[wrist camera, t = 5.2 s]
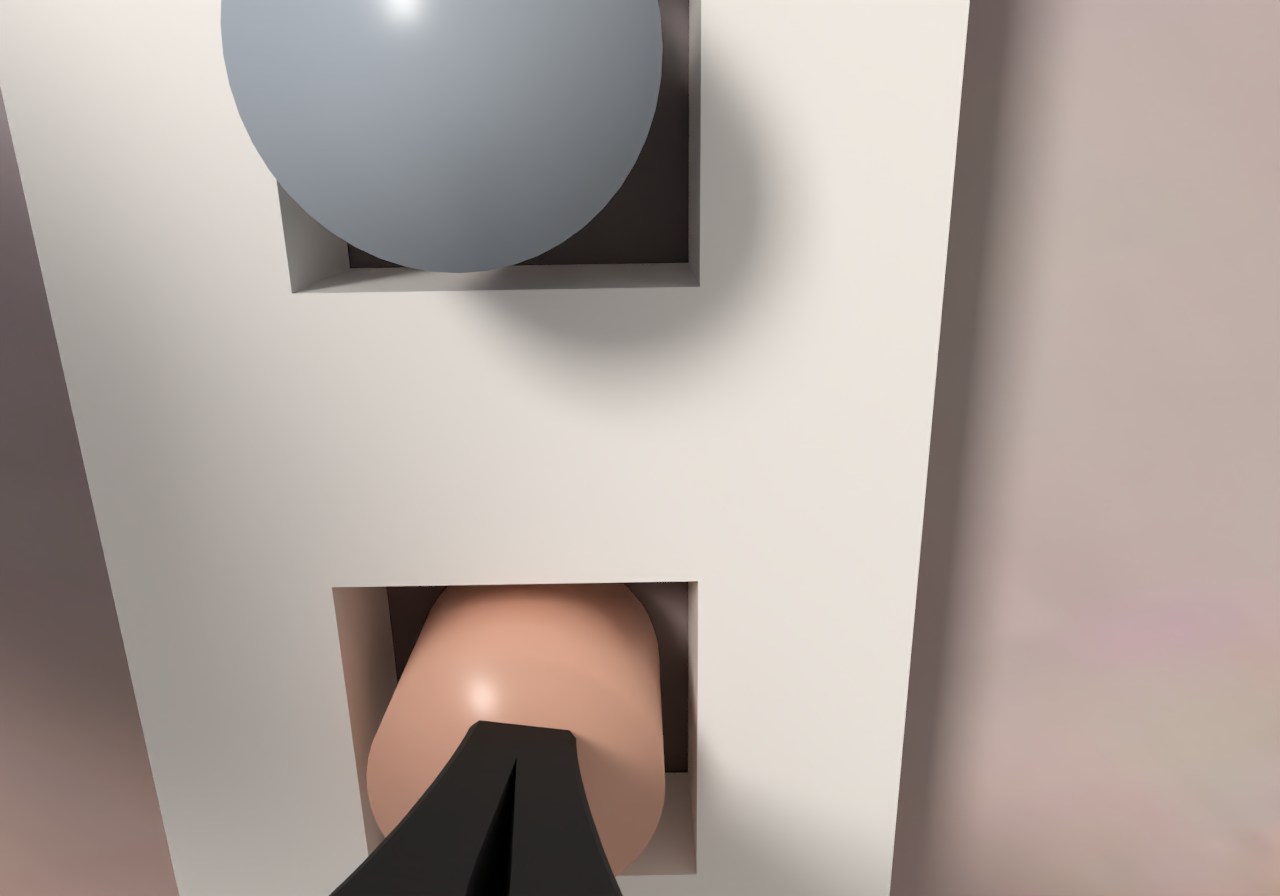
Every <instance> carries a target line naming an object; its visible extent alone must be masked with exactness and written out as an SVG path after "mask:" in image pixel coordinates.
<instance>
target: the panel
mask: <svg viewBox="0 0 1280 896" xmlns="http://www.w3.org/2000/svg"><path fill="white" fill-rule="evenodd" d="M969 3H970V0H689V263H644V264H583V265H522V266H507V267H502V268H498V269H493V270H489V271H480V272H468V273H448V272H432V271H426V270H421V269H415V268H410V267H399V268H350V265H349V256H348V247H347V242H346V241H345V240H343V239H341V238H340V237H338V236H336V235H335V234H333V233H332V232H330V231H329V230H328V229H326V228H325V227H324V226H323V225H321V224H320V223H319V222H318V221H316V220H315V219H314V218H312V217H311V216H310V215H309V214H308V213H307V212H306V211H305V210H304V209H303V208H302V207H301V206H300V205H299V204H298V203H297V202H296V201H295V200H294V199H293V198H292V197H291V196H290V195H289V194H288V193H287V192H286V191H285V190H284V188H283V187H282V186H281V184H280V183H279V182H278V181H277V179H276V178H275V177H274V176H273V174H272V173H271V172H270V170H269V169H268V168H267V166H266V164H265V163H264V161H263V159H262V158H261V156H260V155H259V153H258V151H257V150H256V148H255V146H254V145H253V143H252V141H251V139H250V137H249V135H248V132H247V130H246V128H245V126H244V124H243V122H242V120H241V117H240V115H239V112H238V109H237V106H236V103H235V100H234V97H233V94H232V91H231V88H230V85H229V80H228V75H227V71H226V66H225V61H224V56H223V47H222V35H221V24H220V23H221V0H0V87H1V91H2V96H3V100H4V105H5V109H6V114H7V119H8V123H9V128H10V132H11V137H12V141H13V146H14V150H15V155H16V159H17V164H18V168H19V173H20V177H21V182H22V186H23V191H24V195H25V200H26V205H27V209H28V214H29V218H30V223H31V227H32V232H33V236H34V241H35V245H36V250H37V254H38V259H39V263H40V268H41V272H42V277H43V281H44V286H45V290H46V295H47V300H48V304H49V309H50V313H51V318H52V322H53V327H54V331H55V336H56V340H57V345H58V349H59V354H60V358H61V363H62V367H63V372H64V376H65V381H66V385H67V390H68V395H69V399H70V404H71V408H72V413H73V417H74V422H75V426H76V431H77V435H78V440H79V444H80V449H81V453H82V458H83V462H84V467H85V471H86V476H87V480H88V485H89V490H90V494H91V499H92V503H93V508H94V512H95V517H96V521H97V526H98V530H99V535H100V539H101V544H102V548H103V553H104V557H105V562H106V566H107V571H108V575H109V580H110V585H111V589H112V594H113V598H114V603H115V607H116V612H117V616H118V621H119V625H120V630H121V634H122V639H123V643H124V648H125V652H126V657H127V661H128V666H129V670H130V675H131V680H132V684H133V689H134V693H135V698H136V702H137V707H138V711H139V716H140V720H141V725H142V729H143V734H144V738H145V743H146V747H147V752H148V756H149V761H150V766H151V770H152V775H153V779H154V784H155V788H156V793H157V797H158V802H159V806H160V811H161V815H162V820H163V824H164V829H165V833H166V838H167V842H168V847H169V851H170V856H171V861H172V865H173V870H174V874H175V879H176V883H177V888H178V892H179V896H329V895H330V894H331V893H332V892H333V891H334V890H335V889H336V888H337V887H338V886H339V885H340V884H341V883H342V882H344V881H345V880H346V879H347V878H348V877H349V876H350V875H351V874H352V873H353V872H354V871H355V870H356V869H357V868H358V867H359V866H360V865H361V864H362V863H363V862H364V861H365V859H366V858H367V857H368V856H369V855H370V854H371V853H372V852H373V851H374V850H375V849H376V848H377V847H378V845H379V844H380V843H381V842H382V841H383V840H384V839H385V837H384V835H383V833H382V832H381V830H380V828H379V826H378V824H377V823H376V820H375V817H374V815H373V812H372V809H371V806H370V802H369V797H368V792H367V778H366V773H367V763H368V756H369V753H370V749H371V745H372V742H373V740H374V737H375V735H376V733H377V731H378V728H379V726H380V724H381V721H382V719H383V717H384V715H385V712H386V710H387V708H388V705H389V703H390V701H391V699H392V696H393V694H394V692H395V689H396V687H397V685H398V683H397V674H396V665H395V656H394V648H393V639H392V630H391V622H390V613H389V604H388V596H387V587H386V586H444V585H505V584H565V583H625V582H686V581H688V773H665V797H664V805H663V809H662V813H661V818H660V820H659V823H658V825H657V828H656V830H655V833H654V834H653V836H652V838H651V839H650V841H649V843H648V845H647V846H646V848H645V849H644V850H643V851H642V853H641V854H640V855H639V856H638V858H637V859H636V860H635V861H634V862H633V863H632V864H631V865H630V866H629V867H628V868H627V869H625V870H624V871H623V872H622V873H620V874H619V875H618V876H616V877H615V879H616V881H617V883H618V886H619V888H620V890H621V893H622V895H623V896H889V895H890V884H891V873H892V861H893V850H894V839H895V828H896V817H897V806H898V795H899V783H900V772H901V761H902V750H903V739H904V728H905V717H906V705H907V694H908V683H909V672H910V661H911V650H912V639H913V627H914V616H915V605H916V594H917V583H918V572H919V561H920V549H921V538H922V527H923V516H924V505H925V494H926V483H927V471H928V460H929V449H930V438H931V427H932V416H933V405H934V393H935V382H936V371H937V360H938V349H939V338H940V326H941V315H942V304H943V293H944V282H945V271H946V260H947V248H948V237H949V226H950V215H951V204H952V193H953V182H954V170H955V159H956V148H957V137H958V126H959V115H960V104H961V92H962V81H963V70H964V59H965V48H966V37H967V26H968V14H969Z"/></svg>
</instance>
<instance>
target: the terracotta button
mask: <svg viewBox="0 0 1280 896" xmlns="http://www.w3.org/2000/svg"><path fill="white" fill-rule="evenodd" d="M479 720H482V721H491V722H500V723H509V724H518V725H527V726H535V727H545V728H554V729H563V730H570V732H571V733H572V734H573V735H574V736H575V738H576V746H577V756H578V762H579V768H580V773H581V777H582V781H583V785H584V789H585V793H586V797H587V801H588V804H589V807H590V811H591V814H592V817H593V820H594V823H595V826H596V829H597V832H598V834H599V837H600V840H601V843H602V846H603V849H604V851H605V854H606V857H607V859H608V862H609V864H610V867H611V869H612V872H613V874H614V876H615V877H616V876H618V875H619V874H620V873H622V872H623V871H624V870H625V869H627V868H628V867H629V866H630V865H631V864H632V863H633V862H634V861H635V860H636V859H637V858H638V856H639V855H640V854H641V853H642V851H643V850H644V849H645V848H646V846H647V845H648V843H649V841H650V839H651V838H652V836H653V834H654V833H655V830H656V828H657V825H658V823H659V820H660V818H661V813H662V809H663V805H664V797H665V769H664V748H663V728H662V707H661V686H660V665H659V651H658V642H657V638H656V634H655V630H654V628H653V625H652V623H651V620H650V618H649V616H648V614H647V612H646V611H645V609H644V607H643V605H642V604H641V603H640V601H639V600H638V599H637V598H636V596H635V595H634V594H633V593H632V592H631V591H630V590H629V589H628V588H627V587H626V586H625V585H624V584H623V583H565V584H505V585H448V587H447V588H446V589H445V590H444V591H443V592H442V593H441V595H440V596H439V597H438V599H437V600H436V602H435V603H434V605H433V606H432V608H431V610H430V612H429V614H428V617H427V619H426V621H425V623H424V626H423V628H422V630H421V632H420V635H419V637H418V639H417V642H416V644H415V646H414V648H413V651H412V653H411V655H410V658H409V660H408V662H407V664H406V667H405V669H404V671H403V673H402V676H401V678H400V680H399V683H398V685H397V687H396V689H395V692H394V694H393V696H392V699H391V701H390V703H389V705H388V708H387V710H386V712H385V715H384V717H383V719H382V721H381V724H380V726H379V728H378V731H377V733H376V735H375V737H374V740H373V742H372V745H371V749H370V753H369V756H368V763H367V773H366V778H367V792H368V797H369V802H370V806H371V809H372V812H373V815H374V817H375V820H376V823H377V824H378V826H379V828H380V830H381V832H382V833H383V835H384V837H385V838H386V837H387V836H388V835H389V834H390V833H391V831H392V830H393V829H394V828H395V827H396V826H397V825H398V824H399V823H400V822H401V820H402V819H403V818H404V817H405V816H406V815H407V813H408V812H409V811H410V810H411V808H412V807H413V806H414V805H415V804H416V802H417V801H418V800H419V799H420V797H421V796H422V795H423V794H424V792H425V791H426V790H427V789H428V788H429V786H430V785H431V784H432V783H433V781H434V780H435V779H436V777H437V776H438V775H439V773H440V772H441V771H442V769H443V768H444V766H445V765H446V764H447V762H448V761H449V760H450V758H451V757H452V755H453V754H454V752H455V751H456V749H457V748H458V746H459V745H460V743H461V742H462V740H463V738H464V737H465V735H466V733H467V731H468V730H469V728H470V726H472V725H473V724H475V723H476V722H478V721H479Z"/></svg>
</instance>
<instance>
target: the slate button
mask: <svg viewBox="0 0 1280 896" xmlns="http://www.w3.org/2000/svg"><path fill="white" fill-rule="evenodd" d="M220 24H221V35H222V47H223V56H224V61H225V66H226V71H227V75H228V80H229V85H230V88H231V91H232V94H233V97H234V100H235V103H236V106H237V109H238V112H239V115H240V117H241V120H242V122H243V124H244V126H245V128H246V130H247V132H248V135H249V137H250V139H251V141H252V143H253V145H254V146H255V148H256V150H257V151H258V153H259V155H260V156H261V158H262V159H263V161H264V163H265V164H266V166H267V168H268V169H269V170H270V172H271V173H272V174H273V176H274V177H275V178H276V179H277V181H278V182H279V183H280V184H281V186H282V187H283V188H284V190H285V191H286V192H287V193H288V194H289V195H290V196H291V197H292V198H293V199H294V200H295V201H296V202H297V203H298V204H299V205H300V206H301V207H302V208H303V209H304V210H305V211H306V212H307V213H308V214H309V215H310V216H311V217H312V218H314V219H315V220H316V221H318V222H319V223H320V224H321V225H323V226H324V227H325V228H326V229H328V230H329V231H330V232H332V233H333V234H335V235H336V236H338V237H340V238H341V239H343V240H345V241H346V242H348V243H349V244H351V245H353V246H354V247H356V248H358V249H361V250H363V251H365V252H367V253H369V254H371V255H374V256H376V257H378V258H380V259H383V260H386V261H389V262H393V263H396V264H399V265H402V266H405V267H410V268H415V269H421V270H426V271H432V272H448V273H468V272H480V271H489V270H493V269H498V268H502V267H507V266H511V265H515V264H517V263H520V262H523V261H525V260H528V259H531V258H534V257H536V256H539V255H540V254H542V253H544V252H546V251H548V250H550V249H552V248H554V247H556V246H557V245H559V244H561V243H563V242H564V241H565V240H567V239H568V238H570V237H571V236H572V235H574V234H575V233H576V232H578V231H579V230H581V229H582V228H583V227H584V226H585V225H587V224H588V223H589V222H590V221H591V220H592V219H593V218H594V217H595V216H596V215H597V214H598V213H599V212H600V211H601V210H602V209H603V208H604V207H605V206H606V205H607V203H608V202H609V201H610V200H611V198H612V197H613V196H614V195H615V193H616V192H617V191H618V190H619V189H620V187H621V186H622V184H623V182H624V181H625V179H626V178H627V176H628V174H629V173H630V171H631V169H632V168H633V166H634V165H635V163H636V161H637V158H638V156H639V154H640V152H641V149H642V147H643V145H644V143H645V141H646V138H647V136H648V133H649V129H650V126H651V123H652V120H653V116H654V113H655V110H656V105H657V99H658V94H659V88H660V82H661V73H662V54H663V43H662V28H661V15H660V10H659V5H658V0H221V23H220Z"/></svg>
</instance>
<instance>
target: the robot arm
mask: <svg viewBox="0 0 1280 896" xmlns="http://www.w3.org/2000/svg"><path fill="white" fill-rule="evenodd" d="M329 896H623V895H622V893H621V890H620V888H619V886H618V883H617V881H616V879H615V876H614V874H613V872H612V869H611V867H610V864H609V862H608V859H607V857H606V854H605V851H604V849H603V846H602V843H601V840H600V837H599V834H598V832H597V829H596V826H595V823H594V820H593V817H592V814H591V811H590V807H589V804H588V801H587V797H586V793H585V789H584V785H583V781H582V777H581V773H580V768H579V762H578V756H577V746H576V738H575V736H574V735H573V734H572V733H571V732H570V730H563V729H554V728H545V727H535V726H527V725H518V724H509V723H500V722H491V721H482V720H479V721H478V722H476V723H475V724H473V725H472V726H470V728H469V730H468V731H467V733H466V735H465V737H464V738H463V740H462V742H461V743H460V745H459V746H458V748H457V749H456V751H455V752H454V754H453V755H452V757H451V758H450V760H449V761H448V762H447V764H446V765H445V766H444V768H443V769H442V771H441V772H440V773H439V775H438V776H437V777H436V779H435V780H434V781H433V783H432V784H431V785H430V786H429V788H428V789H427V790H426V791H425V792H424V794H423V795H422V796H421V797H420V799H419V800H418V801H417V802H416V804H415V805H414V806H413V807H412V808H411V810H410V811H409V812H408V813H407V815H406V816H405V817H404V818H403V819H402V820H401V822H400V823H399V824H398V825H397V826H396V827H395V828H394V829H393V830H392V831H391V833H390V834H389V835H388V836H387V837H386V838H385V839H384V840H383V841H382V842H381V843H380V844H379V845H378V847H377V848H376V849H375V850H374V851H373V852H372V853H371V854H370V855H369V856H368V857H367V858H366V859H365V861H364V862H363V863H362V864H361V865H360V866H359V867H358V868H357V869H356V870H355V871H354V872H353V873H352V874H351V875H350V876H349V877H348V878H347V879H346V880H345V881H344V882H342V883H341V884H340V885H339V886H338V887H337V888H336V889H335V890H334V891H333V892H332V893H331V894H330V895H329Z"/></svg>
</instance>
